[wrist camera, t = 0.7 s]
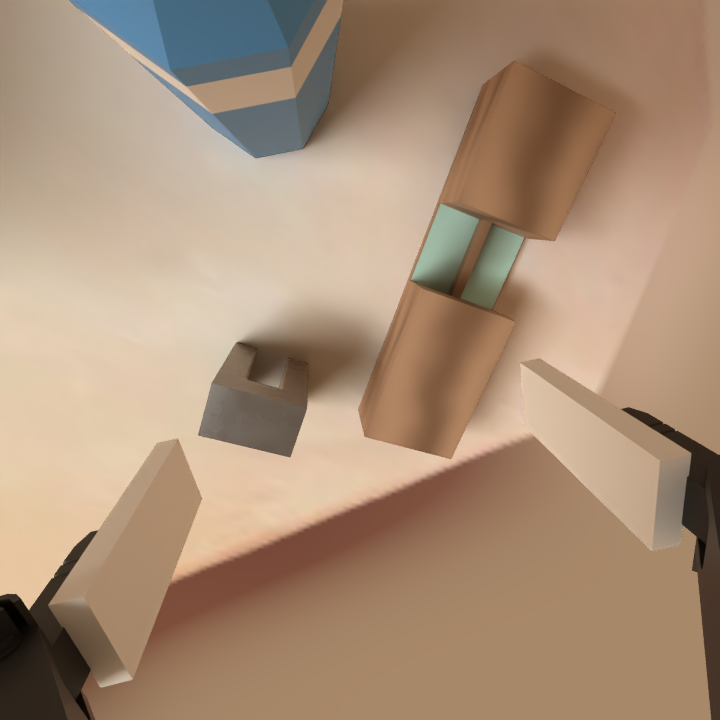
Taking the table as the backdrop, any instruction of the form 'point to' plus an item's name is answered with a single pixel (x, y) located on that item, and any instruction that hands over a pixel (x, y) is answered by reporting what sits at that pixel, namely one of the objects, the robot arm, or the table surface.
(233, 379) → the clip
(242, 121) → the water bottle
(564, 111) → the rail
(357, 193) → the table surface
